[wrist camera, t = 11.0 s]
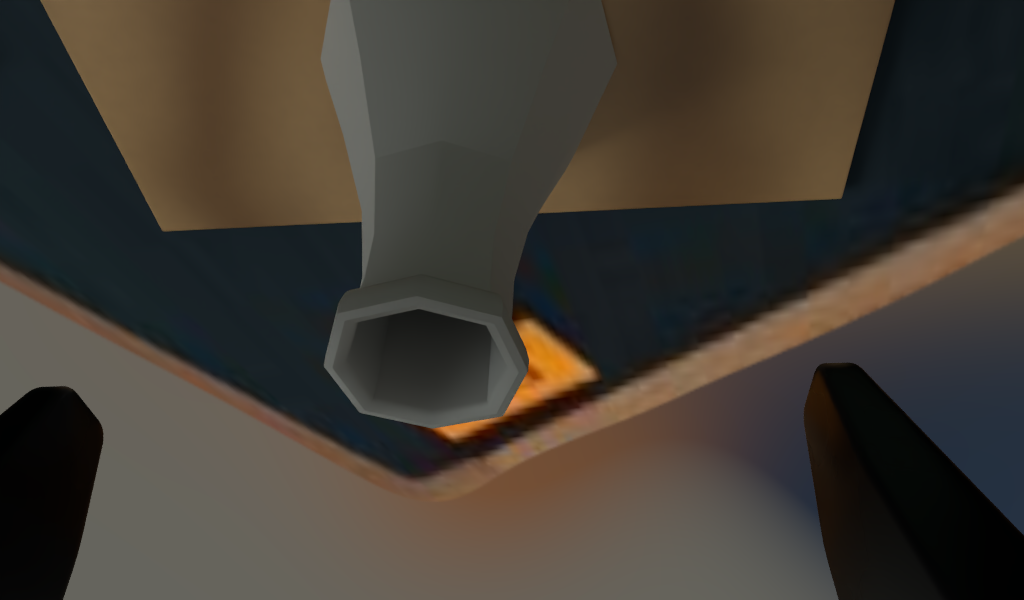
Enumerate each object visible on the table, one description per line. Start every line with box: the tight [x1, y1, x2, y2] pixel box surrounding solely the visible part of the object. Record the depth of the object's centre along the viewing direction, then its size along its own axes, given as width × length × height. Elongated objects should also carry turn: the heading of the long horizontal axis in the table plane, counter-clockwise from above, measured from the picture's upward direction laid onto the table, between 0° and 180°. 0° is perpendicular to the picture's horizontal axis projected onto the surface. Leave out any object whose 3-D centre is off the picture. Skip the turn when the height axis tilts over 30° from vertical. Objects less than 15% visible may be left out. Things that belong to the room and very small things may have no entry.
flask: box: [321, 0, 617, 428], centre depth 16 cm, size 7×7×10 cm
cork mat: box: [41, 0, 895, 231], centre depth 19 cm, size 20×10×1 cm, turn 95°
